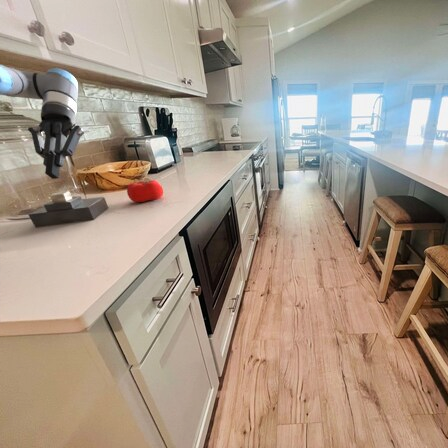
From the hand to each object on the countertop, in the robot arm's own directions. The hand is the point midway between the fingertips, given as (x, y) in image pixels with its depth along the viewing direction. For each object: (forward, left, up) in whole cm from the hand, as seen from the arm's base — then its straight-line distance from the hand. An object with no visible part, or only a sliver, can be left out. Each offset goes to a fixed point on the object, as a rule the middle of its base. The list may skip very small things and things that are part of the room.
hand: (52, 175), depth 67 cm
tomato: (+15, +16, -13) cm, 25 cm away
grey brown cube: (0, 0, -8) cm, 8 cm away
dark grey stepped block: (0, +2, -13) cm, 13 cm away
